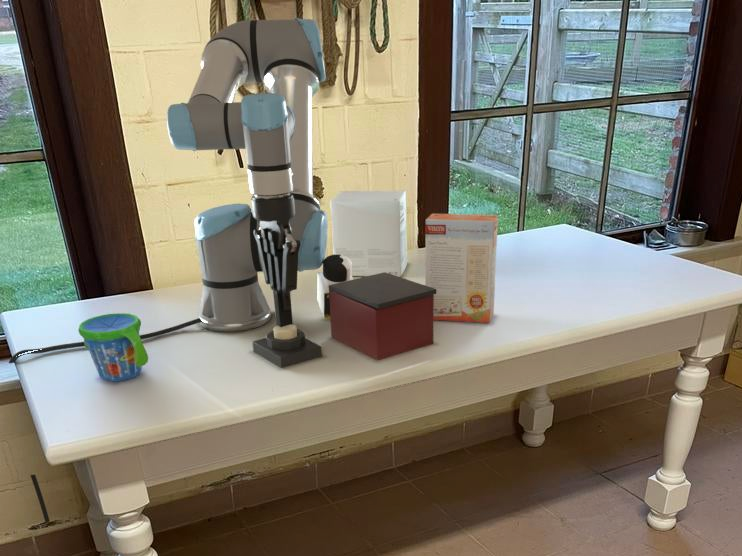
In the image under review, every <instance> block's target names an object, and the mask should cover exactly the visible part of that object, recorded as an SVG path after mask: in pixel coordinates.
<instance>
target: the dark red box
mask: <svg viewBox="0 0 742 556" xmlns="http://www.w3.org/2000/svg"><path fill="white" fill-rule="evenodd" d="M329 301H330V317H331V318H330V330H331V332H330V333H331V339H333V340H334V341H337V342H338V343H341V344H343V345H345V346H346V347H349V348H351V349H353V350H354V351H356V352H359V353H361V354H363V355H365V356H367V357H369V358H371V359H373V360H375V361H381V360H384V359H388V358H390V357H394V356H397V355H400V354H405V353H408V352H410V351H414V350H418V349H421V348H425V347H428V346H430V345H434V321H435V320H434V295H430V296H426V297H422V298H418V299H414V300H410V301H407V302H403V303H399V304H395V305H391V306H388V307H384V308H380V309H377V308H375V307H372V306H370V305H367V304H364V303H362V302H359V301H357V300H354V299H351V298H349V297H346V296H344V295H341V294H339V293H336V292H333V291H331V290H329Z"/></svg>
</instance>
